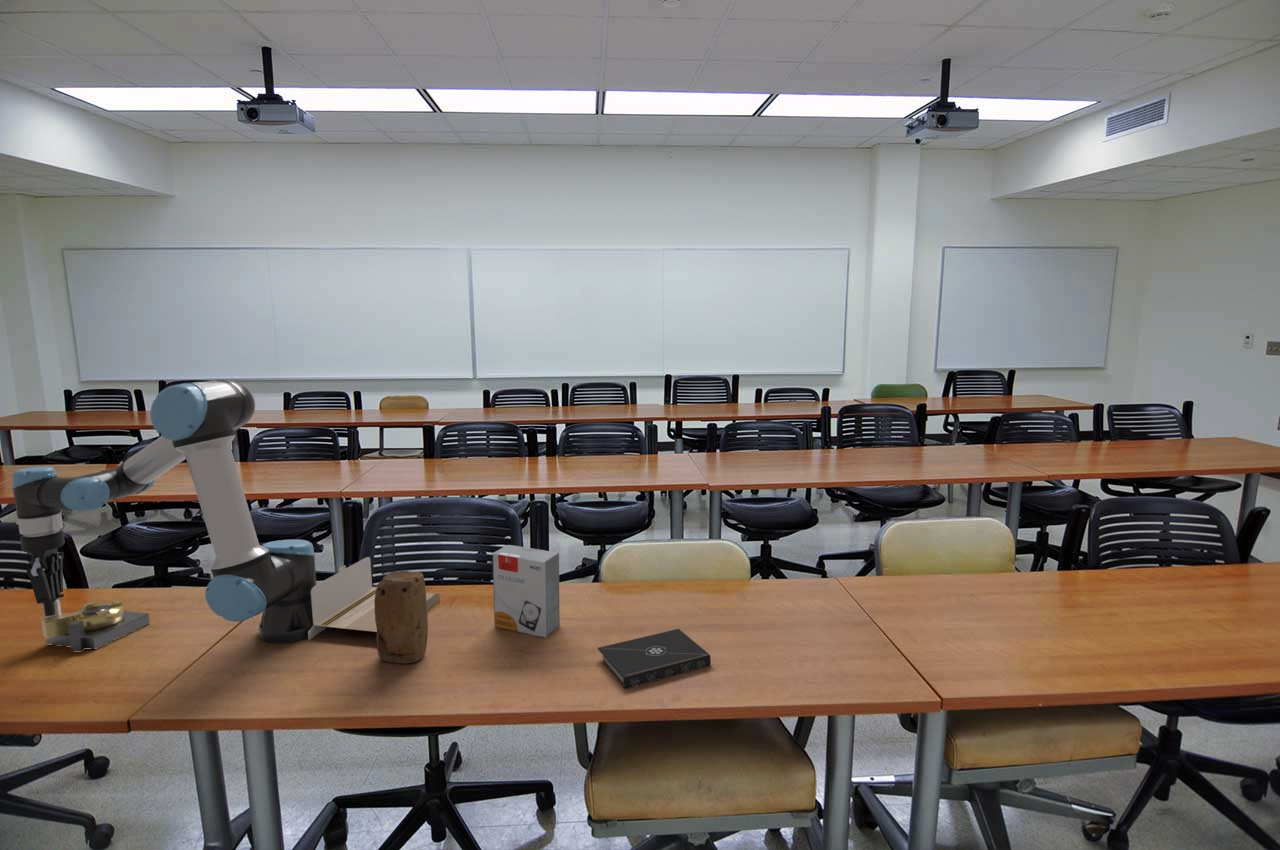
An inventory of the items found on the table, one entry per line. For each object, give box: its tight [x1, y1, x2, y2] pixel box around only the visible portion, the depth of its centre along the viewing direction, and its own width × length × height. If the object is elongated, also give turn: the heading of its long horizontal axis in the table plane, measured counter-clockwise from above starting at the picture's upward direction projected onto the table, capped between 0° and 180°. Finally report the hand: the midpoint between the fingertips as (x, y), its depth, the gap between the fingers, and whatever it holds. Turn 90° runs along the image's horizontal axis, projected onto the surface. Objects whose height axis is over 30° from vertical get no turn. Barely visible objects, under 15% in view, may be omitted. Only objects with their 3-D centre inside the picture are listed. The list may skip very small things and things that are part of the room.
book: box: [597, 628, 712, 690], centre depth 145 cm, size 22×15×3 cm
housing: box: [45, 610, 150, 652], centre depth 157 cm, size 14×16×7 cm
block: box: [374, 570, 429, 664], centre depth 146 cm, size 11×8×20 cm
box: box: [307, 556, 440, 641], centre depth 166 cm, size 35×20×14 cm, turn 168°
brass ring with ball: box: [40, 599, 125, 640], centre depth 156 cm, size 15×10×4 cm, turn 147°
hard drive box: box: [492, 544, 561, 638], centre depth 161 cm, size 16×8×20 cm, turn 68°
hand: (54, 626), depth 153 cm, fingers closed
